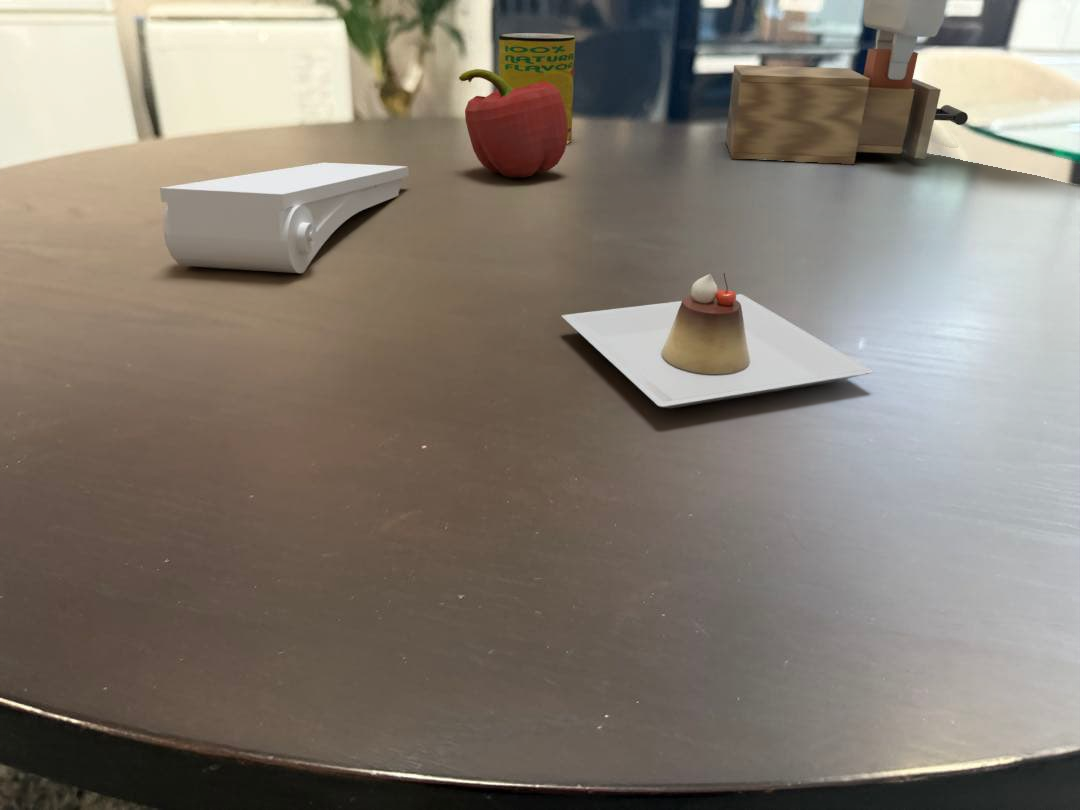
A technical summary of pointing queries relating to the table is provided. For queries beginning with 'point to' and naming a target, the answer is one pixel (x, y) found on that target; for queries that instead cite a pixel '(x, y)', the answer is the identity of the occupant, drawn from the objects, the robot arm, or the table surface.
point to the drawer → (903, 119)
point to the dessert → (711, 348)
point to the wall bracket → (270, 214)
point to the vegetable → (516, 126)
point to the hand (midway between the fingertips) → (888, 76)
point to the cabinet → (796, 113)
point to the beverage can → (539, 63)
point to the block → (878, 67)
